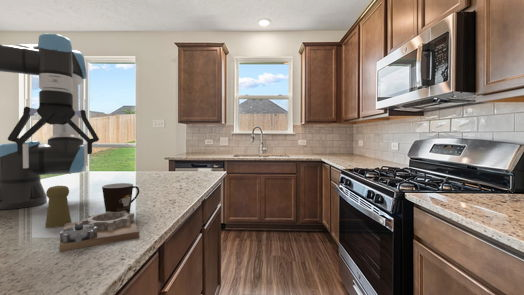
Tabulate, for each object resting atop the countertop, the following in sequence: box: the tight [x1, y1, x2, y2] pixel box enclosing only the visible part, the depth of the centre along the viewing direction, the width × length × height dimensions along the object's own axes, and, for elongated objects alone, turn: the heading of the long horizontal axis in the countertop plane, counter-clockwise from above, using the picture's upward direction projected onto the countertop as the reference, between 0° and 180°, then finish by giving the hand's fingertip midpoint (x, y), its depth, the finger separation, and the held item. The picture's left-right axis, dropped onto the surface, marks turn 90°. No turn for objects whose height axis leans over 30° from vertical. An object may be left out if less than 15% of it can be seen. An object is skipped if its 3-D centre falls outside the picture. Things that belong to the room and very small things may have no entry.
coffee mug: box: [101, 182, 140, 214], centre depth 85 cm, size 12×9×10 cm
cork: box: [44, 185, 72, 229], centre depth 76 cm, size 6×6×11 cm
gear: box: [59, 223, 97, 243], centre depth 63 cm, size 7×7×3 cm
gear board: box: [58, 211, 140, 252], centre depth 70 cm, size 17×16×4 cm
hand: (57, 166), depth 76 cm, fingers open, 13 cm apart
